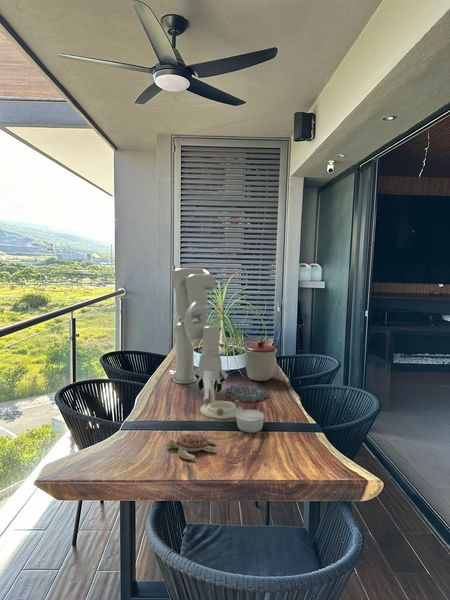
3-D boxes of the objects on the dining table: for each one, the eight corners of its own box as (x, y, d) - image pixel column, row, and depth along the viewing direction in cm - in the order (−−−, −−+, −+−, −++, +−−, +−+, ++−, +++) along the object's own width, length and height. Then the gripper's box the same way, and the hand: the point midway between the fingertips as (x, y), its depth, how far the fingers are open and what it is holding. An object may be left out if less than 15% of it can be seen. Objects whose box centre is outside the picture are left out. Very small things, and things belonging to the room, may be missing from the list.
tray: (193, 415, 163) (193, 406, 162) (209, 401, 180) (209, 392, 179) (234, 421, 157) (235, 412, 156) (247, 406, 174) (247, 398, 173)
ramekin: (244, 436, 144) (244, 422, 144) (230, 424, 154) (230, 411, 154) (270, 430, 149) (270, 417, 149) (254, 420, 159) (254, 407, 159)
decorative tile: (273, 393, 194) (273, 388, 194) (257, 405, 176) (257, 400, 176) (236, 386, 203) (236, 382, 203) (218, 397, 185) (218, 393, 185)
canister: (281, 377, 220) (282, 340, 218) (266, 385, 205) (268, 345, 203) (252, 372, 230) (254, 336, 228) (237, 379, 214) (238, 341, 212)
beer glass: (219, 400, 181) (220, 368, 180) (213, 404, 175) (213, 371, 174) (206, 397, 184) (207, 366, 183) (199, 402, 178) (199, 369, 177)
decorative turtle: (168, 437, 142) (168, 424, 142) (214, 437, 143) (214, 424, 143) (164, 463, 124) (164, 447, 124) (216, 462, 125) (216, 447, 125)
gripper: (189, 352, 177) (189, 390, 179) (226, 356, 171) (225, 395, 173) (196, 349, 184) (195, 385, 186) (231, 352, 178) (230, 390, 180)
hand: (209, 390), depth 179 cm, fingers open, 8 cm apart
